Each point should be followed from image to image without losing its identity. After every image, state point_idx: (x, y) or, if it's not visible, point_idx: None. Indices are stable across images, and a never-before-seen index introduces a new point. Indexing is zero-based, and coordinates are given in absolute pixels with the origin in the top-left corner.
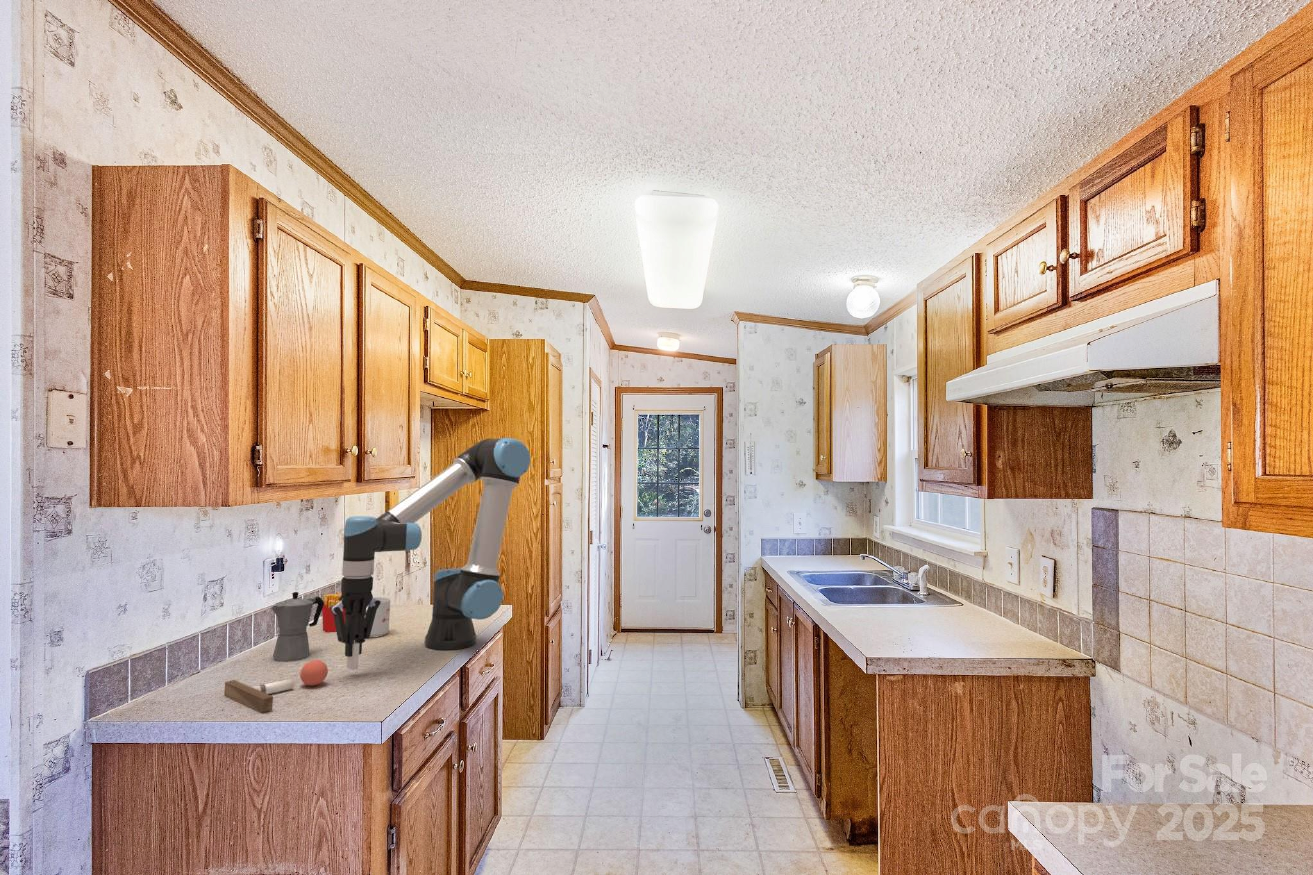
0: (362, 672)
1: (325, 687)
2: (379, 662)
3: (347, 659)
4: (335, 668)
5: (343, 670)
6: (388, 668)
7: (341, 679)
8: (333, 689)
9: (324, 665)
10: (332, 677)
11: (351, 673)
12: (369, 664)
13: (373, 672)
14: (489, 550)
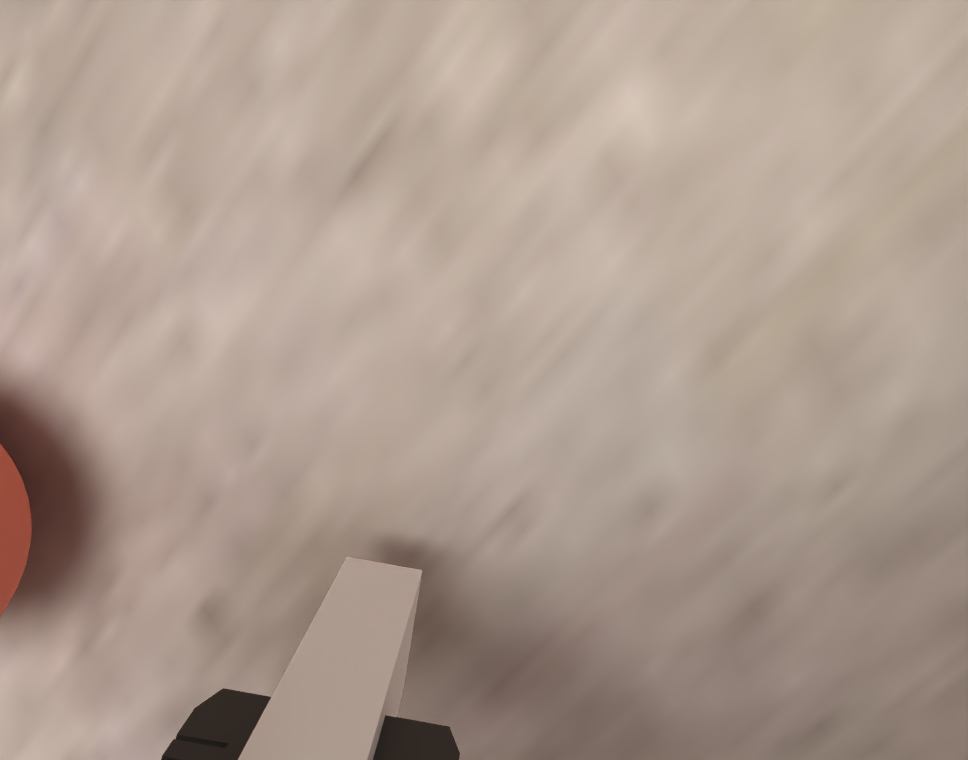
0: (543, 581)
1: (2, 641)
2: (962, 449)
3: (312, 625)
4: (493, 171)
5: (486, 332)
6: (800, 713)
7: (250, 579)
8: (17, 746)
9: None
10: (239, 442)
11: (452, 506)
12: (833, 408)
13: (604, 681)
14: None
